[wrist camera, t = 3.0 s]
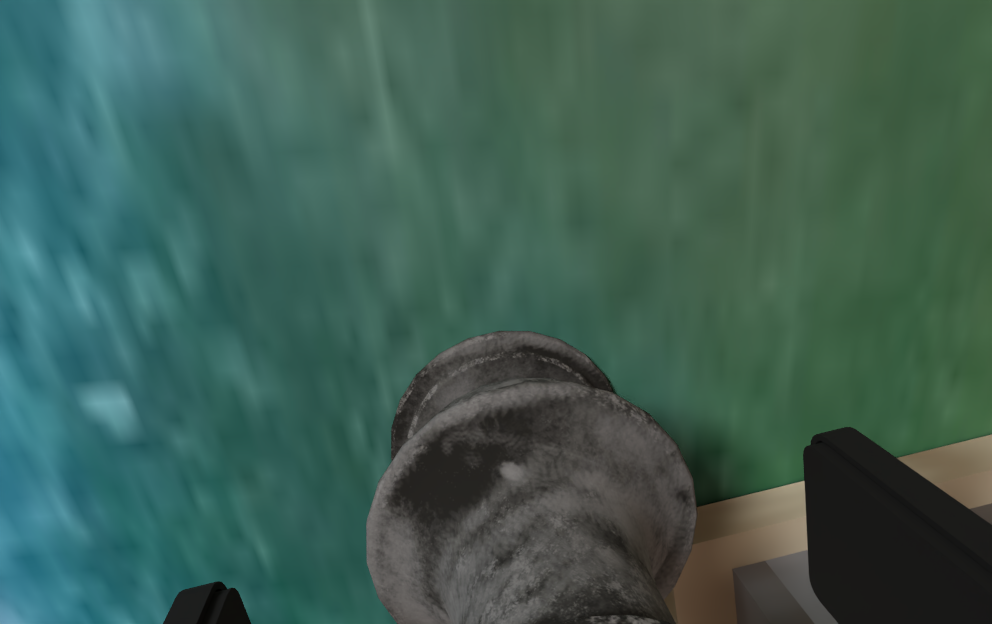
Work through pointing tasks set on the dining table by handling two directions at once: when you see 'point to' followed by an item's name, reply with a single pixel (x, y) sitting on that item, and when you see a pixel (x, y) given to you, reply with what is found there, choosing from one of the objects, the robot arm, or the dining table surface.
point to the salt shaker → (527, 494)
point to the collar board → (793, 545)
